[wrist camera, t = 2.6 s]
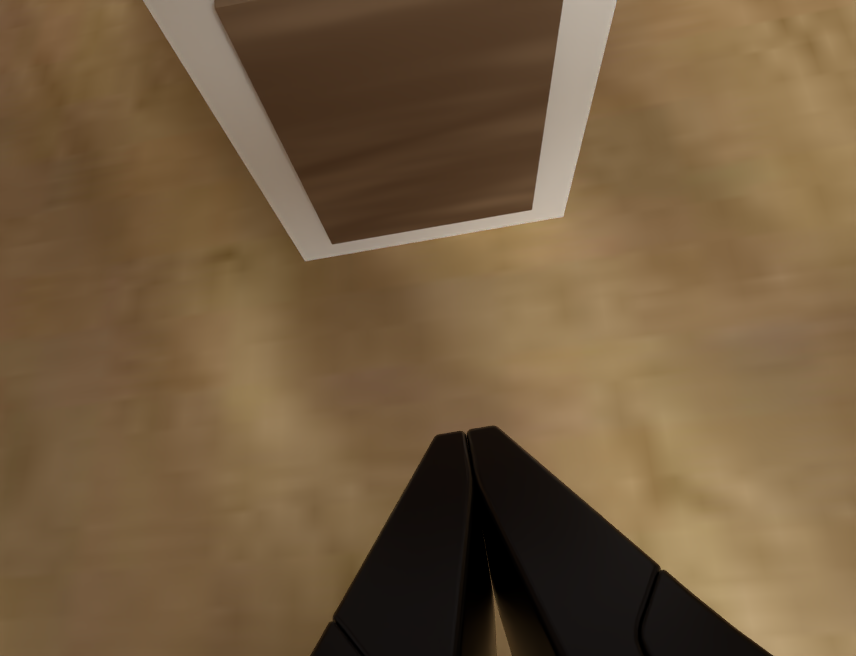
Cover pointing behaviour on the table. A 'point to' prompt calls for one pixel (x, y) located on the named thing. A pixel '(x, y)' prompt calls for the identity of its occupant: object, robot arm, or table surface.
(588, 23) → the picture frame
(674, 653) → the robot arm
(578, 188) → the table surface
